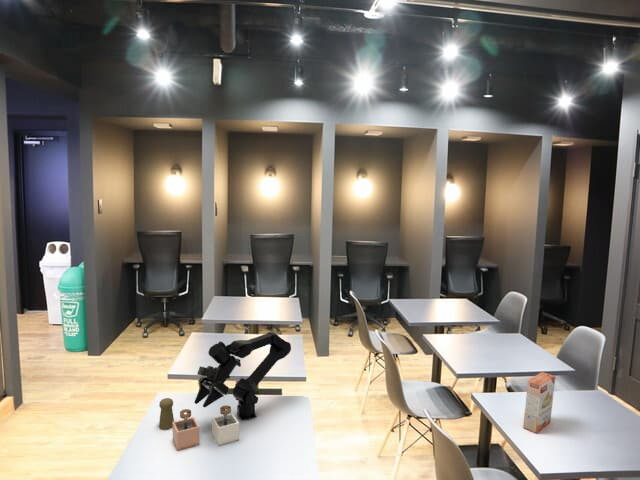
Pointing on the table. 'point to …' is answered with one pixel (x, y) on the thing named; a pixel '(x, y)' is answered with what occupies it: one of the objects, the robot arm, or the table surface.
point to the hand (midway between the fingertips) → (199, 405)
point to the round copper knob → (225, 416)
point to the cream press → (225, 430)
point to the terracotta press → (185, 434)
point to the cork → (166, 414)
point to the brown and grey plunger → (185, 420)
